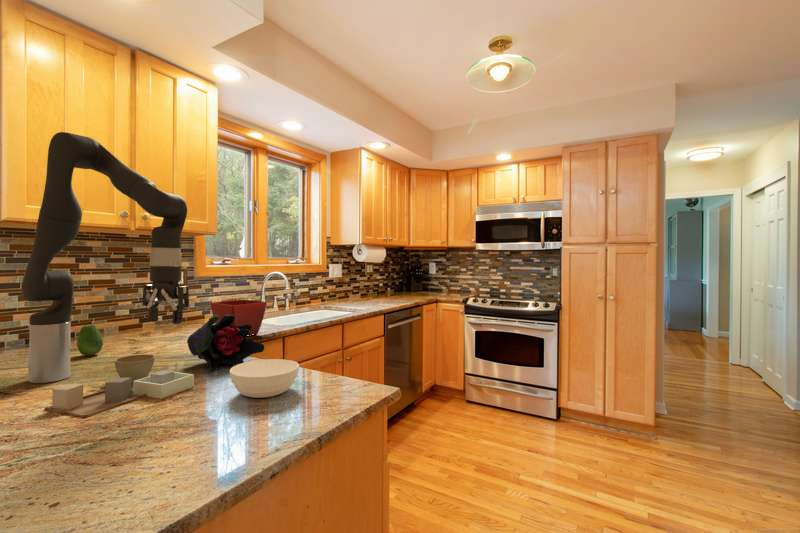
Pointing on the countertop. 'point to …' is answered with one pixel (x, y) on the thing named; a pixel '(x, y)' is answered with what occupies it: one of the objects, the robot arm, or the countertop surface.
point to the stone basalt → (118, 389)
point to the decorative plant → (222, 342)
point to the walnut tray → (94, 405)
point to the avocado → (89, 340)
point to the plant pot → (241, 312)
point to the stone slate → (162, 377)
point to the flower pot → (134, 366)
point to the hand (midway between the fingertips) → (165, 322)
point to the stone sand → (67, 396)
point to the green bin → (163, 386)
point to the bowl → (264, 377)
